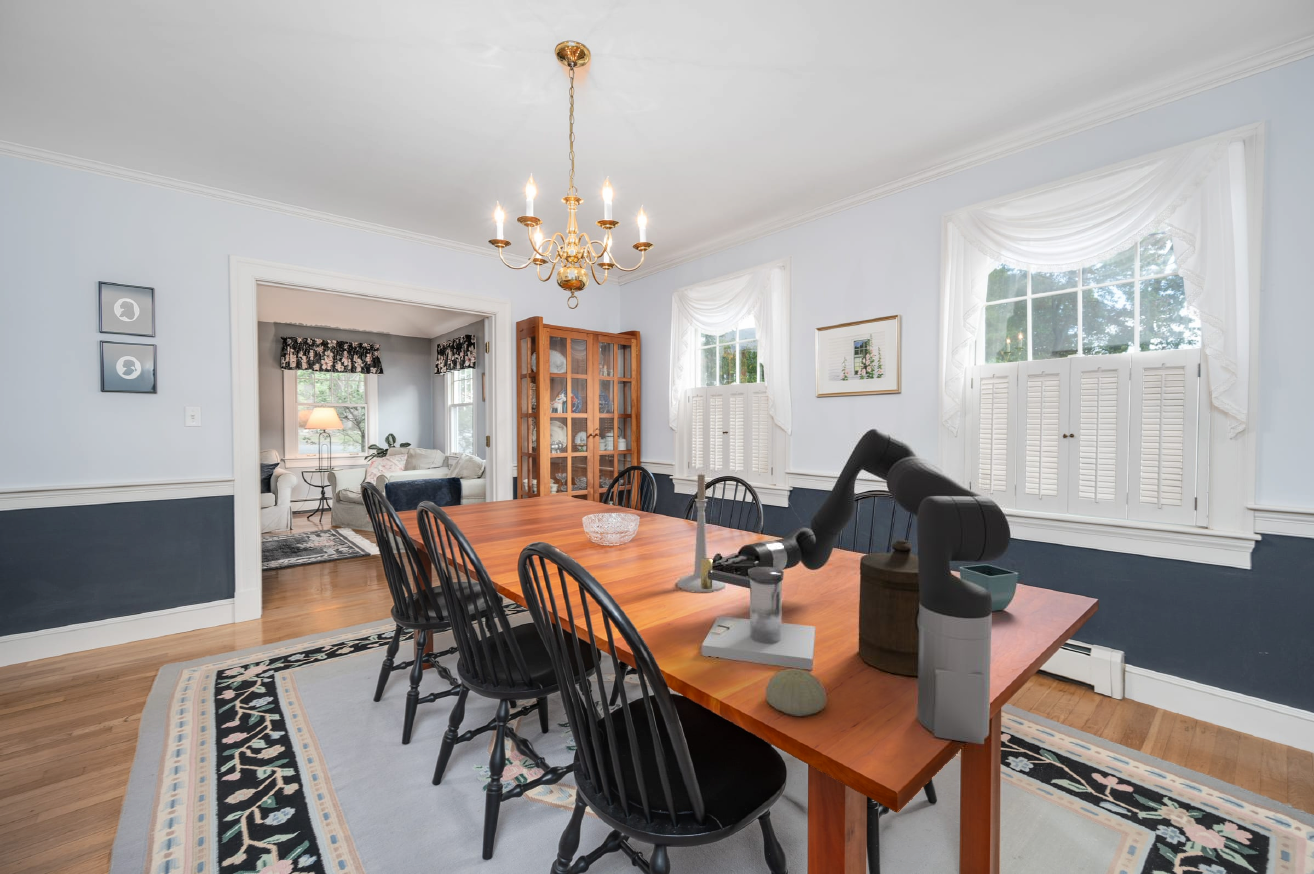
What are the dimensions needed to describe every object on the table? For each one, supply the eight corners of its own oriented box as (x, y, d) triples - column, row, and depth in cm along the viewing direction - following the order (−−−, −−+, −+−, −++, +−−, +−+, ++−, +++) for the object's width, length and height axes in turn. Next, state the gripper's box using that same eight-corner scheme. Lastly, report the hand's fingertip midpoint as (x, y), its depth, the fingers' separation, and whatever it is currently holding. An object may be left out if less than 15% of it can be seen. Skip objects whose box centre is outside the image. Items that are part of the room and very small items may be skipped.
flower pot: (957, 603, 134) (957, 566, 134) (985, 599, 137) (986, 563, 136) (988, 616, 126) (989, 576, 125) (1018, 611, 128) (1019, 573, 128)
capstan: (789, 635, 108) (789, 570, 108) (772, 645, 103) (772, 578, 103) (710, 613, 120) (711, 555, 120) (692, 621, 115) (692, 561, 115)
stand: (812, 670, 99) (812, 656, 99) (701, 655, 105) (701, 642, 105) (815, 636, 114) (815, 624, 114) (718, 625, 120) (718, 614, 120)
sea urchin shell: (750, 694, 86) (771, 648, 90) (770, 716, 90) (789, 671, 94) (803, 716, 80) (823, 665, 84) (822, 739, 84) (840, 689, 88)
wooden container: (948, 683, 93) (948, 552, 93) (854, 667, 100) (854, 544, 99) (945, 651, 107) (945, 536, 106) (862, 638, 113) (862, 530, 113)
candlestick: (700, 595, 140) (700, 476, 139) (667, 584, 150) (667, 472, 149) (735, 586, 148) (735, 473, 147) (701, 575, 158) (701, 469, 157)
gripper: (741, 537, 134) (685, 547, 124) (784, 548, 123) (727, 560, 113) (741, 568, 134) (685, 581, 124) (784, 581, 124) (727, 597, 113)
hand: (705, 571), depth 118 cm, fingers closed
